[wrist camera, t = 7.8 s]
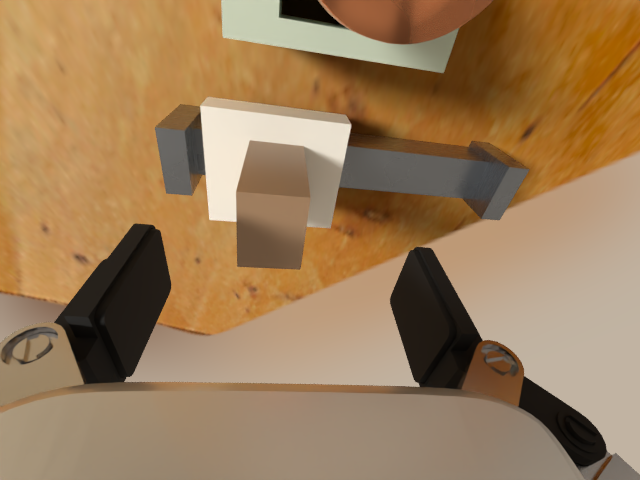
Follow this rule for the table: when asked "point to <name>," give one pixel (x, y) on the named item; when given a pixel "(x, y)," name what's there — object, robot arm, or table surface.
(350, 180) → the rail
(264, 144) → the carriage
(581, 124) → the table surface
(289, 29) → the pale green open box
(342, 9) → the jar with copper lid
